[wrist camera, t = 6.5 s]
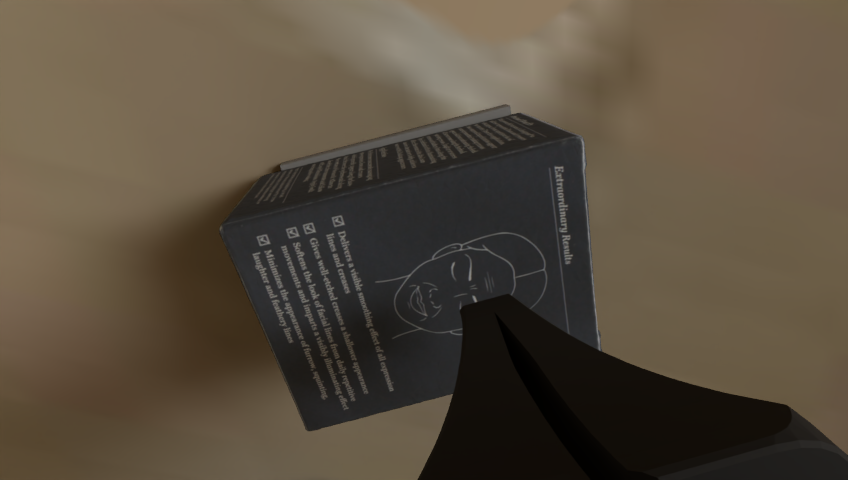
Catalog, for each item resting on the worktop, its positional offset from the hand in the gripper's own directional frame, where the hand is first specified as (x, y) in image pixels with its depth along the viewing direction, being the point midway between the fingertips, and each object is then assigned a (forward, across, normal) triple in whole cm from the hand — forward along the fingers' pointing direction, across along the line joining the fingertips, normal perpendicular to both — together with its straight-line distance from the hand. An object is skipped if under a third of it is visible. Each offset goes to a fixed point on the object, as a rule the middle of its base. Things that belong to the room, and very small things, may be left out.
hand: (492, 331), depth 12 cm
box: (+5, +7, 0) cm, 9 cm away
